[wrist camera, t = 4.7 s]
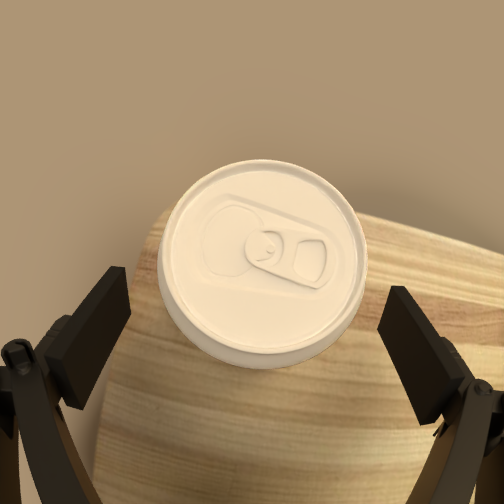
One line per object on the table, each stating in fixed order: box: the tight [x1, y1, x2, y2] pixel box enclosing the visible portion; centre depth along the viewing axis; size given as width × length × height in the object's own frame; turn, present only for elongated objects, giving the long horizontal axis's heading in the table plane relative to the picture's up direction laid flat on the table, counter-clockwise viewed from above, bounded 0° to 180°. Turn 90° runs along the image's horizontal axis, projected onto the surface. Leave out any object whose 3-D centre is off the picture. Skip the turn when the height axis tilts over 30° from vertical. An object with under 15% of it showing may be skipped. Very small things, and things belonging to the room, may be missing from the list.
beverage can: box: [157, 160, 368, 369], centre depth 16 cm, size 8×8×12 cm
